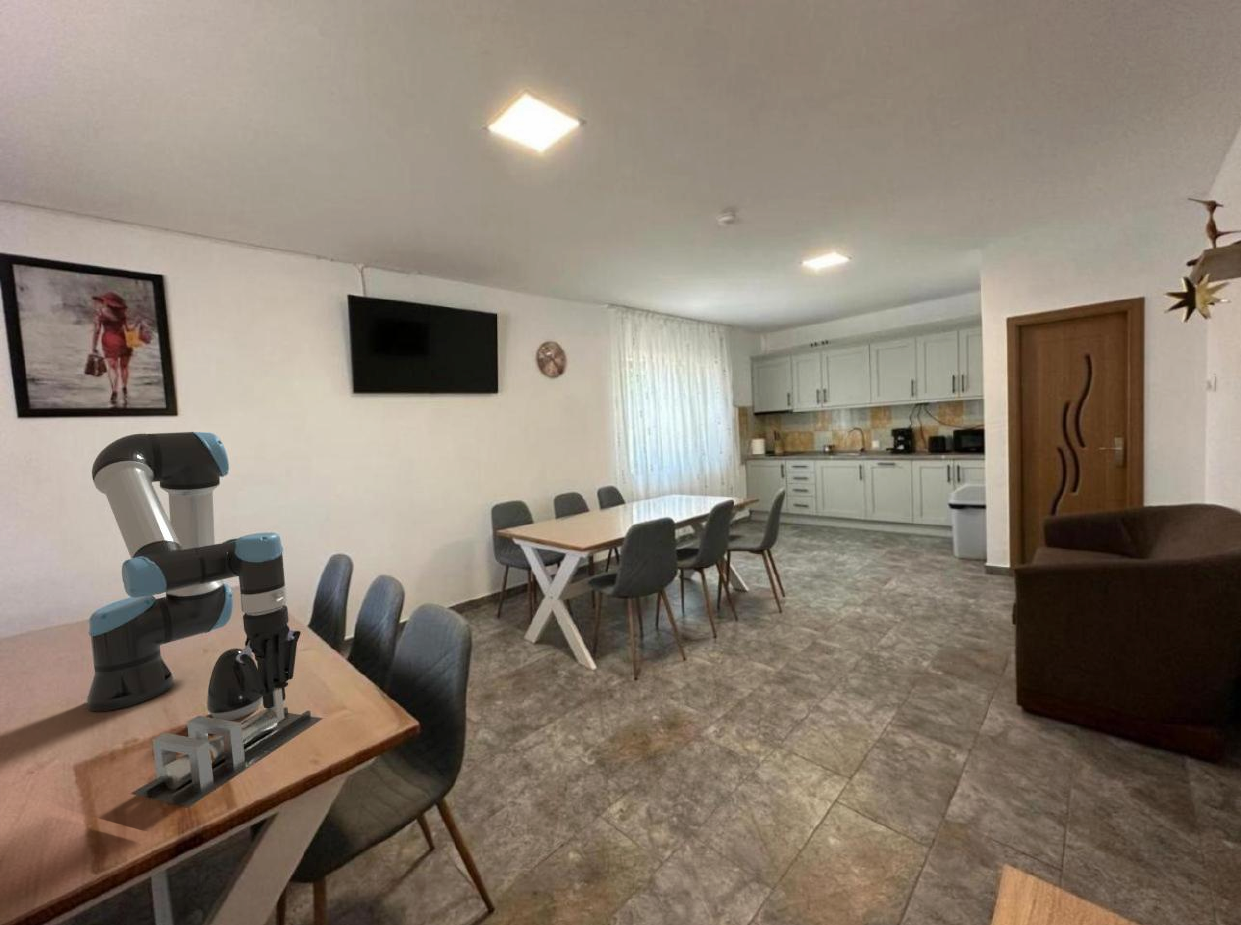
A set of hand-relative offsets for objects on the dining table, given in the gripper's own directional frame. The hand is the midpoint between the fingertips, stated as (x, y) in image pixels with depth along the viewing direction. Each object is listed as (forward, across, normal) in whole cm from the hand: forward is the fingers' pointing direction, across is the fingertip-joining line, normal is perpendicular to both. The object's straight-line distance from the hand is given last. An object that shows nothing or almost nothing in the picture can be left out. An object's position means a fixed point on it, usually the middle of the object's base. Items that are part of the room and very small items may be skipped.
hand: (276, 719), depth 105 cm
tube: (+2, -10, 0) cm, 10 cm away
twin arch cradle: (+3, -8, 0) cm, 9 cm away
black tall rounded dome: (+3, +3, +15) cm, 16 cm away
